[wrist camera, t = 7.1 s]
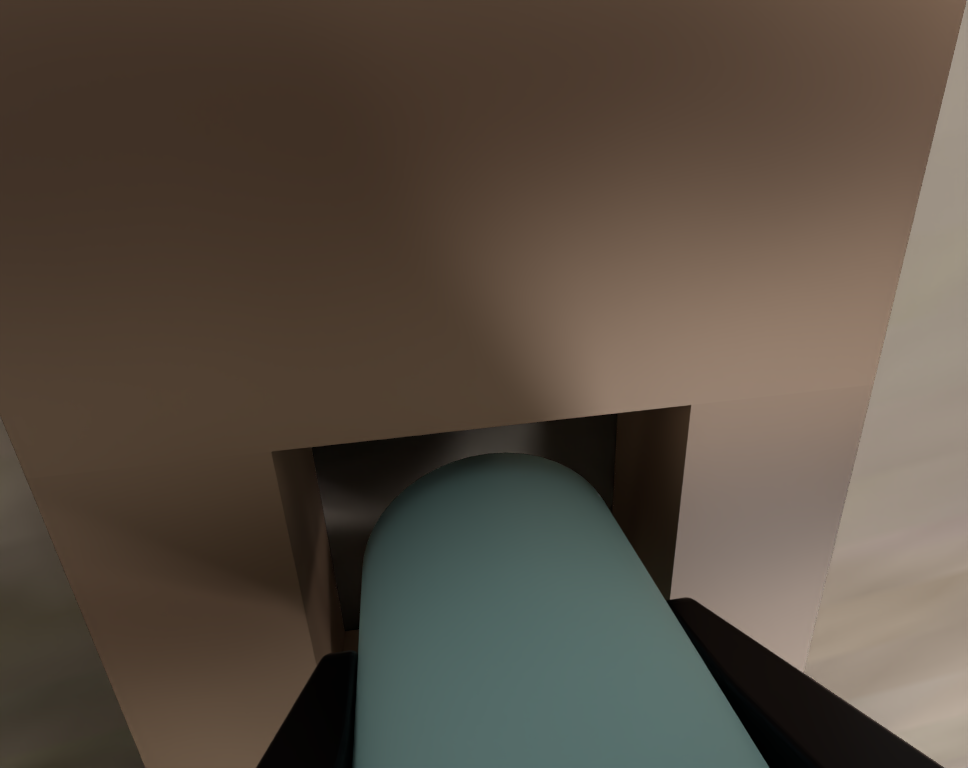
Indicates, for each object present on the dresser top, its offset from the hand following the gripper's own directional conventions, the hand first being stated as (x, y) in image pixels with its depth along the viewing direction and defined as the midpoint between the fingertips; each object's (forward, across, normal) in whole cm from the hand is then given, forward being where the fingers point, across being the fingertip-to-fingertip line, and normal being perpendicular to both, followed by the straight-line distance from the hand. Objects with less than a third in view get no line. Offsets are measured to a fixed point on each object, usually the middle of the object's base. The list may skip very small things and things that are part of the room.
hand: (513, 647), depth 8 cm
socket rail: (+4, 0, 0) cm, 4 cm away
